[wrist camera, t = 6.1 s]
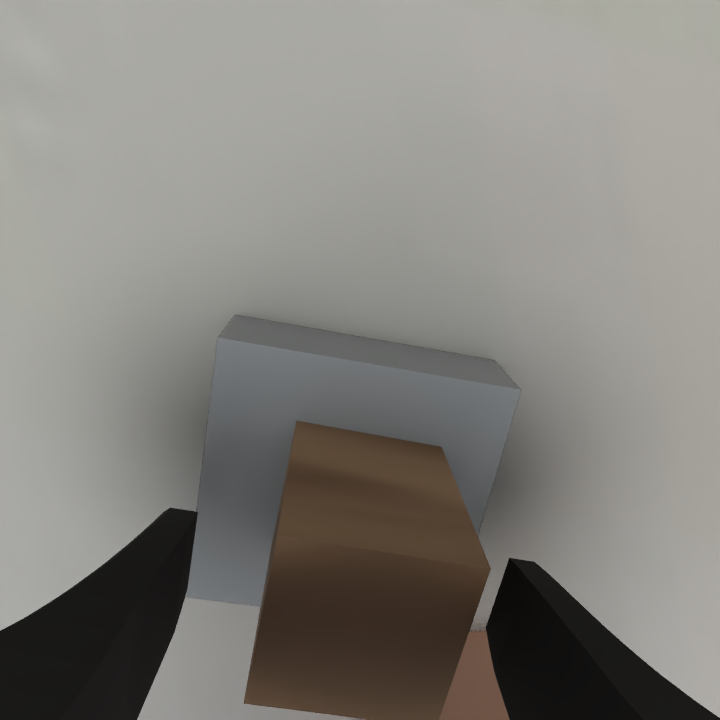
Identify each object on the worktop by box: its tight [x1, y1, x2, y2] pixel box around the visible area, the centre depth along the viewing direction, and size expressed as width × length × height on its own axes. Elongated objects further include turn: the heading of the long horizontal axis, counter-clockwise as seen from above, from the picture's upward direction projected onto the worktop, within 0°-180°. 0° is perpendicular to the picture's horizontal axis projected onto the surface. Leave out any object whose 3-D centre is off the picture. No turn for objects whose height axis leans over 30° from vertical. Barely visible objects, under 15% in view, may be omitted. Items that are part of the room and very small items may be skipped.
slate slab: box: [186, 315, 521, 607], centre depth 17 cm, size 8×8×3 cm
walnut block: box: [244, 421, 490, 720], centre depth 13 cm, size 4×4×5 cm
